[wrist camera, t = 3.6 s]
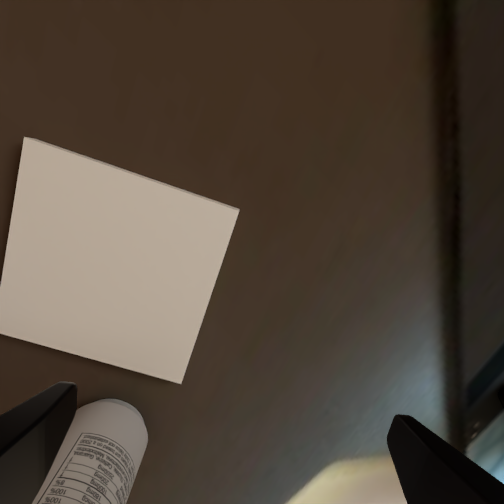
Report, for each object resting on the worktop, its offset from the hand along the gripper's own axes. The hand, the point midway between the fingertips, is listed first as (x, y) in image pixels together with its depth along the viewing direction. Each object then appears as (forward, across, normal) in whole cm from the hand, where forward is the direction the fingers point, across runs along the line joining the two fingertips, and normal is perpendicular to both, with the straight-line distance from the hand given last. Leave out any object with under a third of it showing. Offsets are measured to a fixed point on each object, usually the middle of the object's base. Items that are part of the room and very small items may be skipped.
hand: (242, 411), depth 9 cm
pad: (+13, +8, +1) cm, 15 cm away
